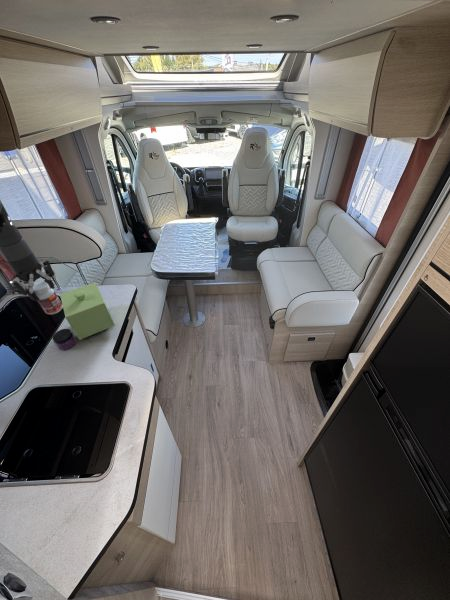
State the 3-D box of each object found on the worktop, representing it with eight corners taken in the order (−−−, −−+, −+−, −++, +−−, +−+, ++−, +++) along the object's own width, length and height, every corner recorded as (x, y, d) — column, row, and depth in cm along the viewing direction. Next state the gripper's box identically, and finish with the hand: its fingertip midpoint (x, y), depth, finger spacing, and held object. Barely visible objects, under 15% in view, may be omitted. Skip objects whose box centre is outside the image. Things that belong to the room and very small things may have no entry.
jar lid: (49, 341, 114) (48, 339, 113) (62, 329, 119) (61, 327, 118) (63, 345, 112) (62, 343, 111) (76, 332, 117) (74, 330, 116)
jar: (54, 348, 117) (48, 340, 113) (67, 335, 122) (62, 327, 119) (68, 352, 115) (62, 344, 111) (80, 338, 120) (75, 331, 117)
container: (74, 319, 131) (56, 289, 117) (107, 307, 137) (93, 277, 124) (81, 343, 118) (62, 312, 105) (116, 328, 125) (102, 298, 112)
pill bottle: (61, 313, 95) (46, 289, 87) (43, 316, 94) (26, 292, 86) (65, 302, 99) (51, 279, 92) (47, 305, 98) (32, 282, 91)
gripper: (28, 241, 86) (52, 280, 97) (-13, 264, 76) (19, 305, 87) (45, 244, 84) (67, 284, 95) (5, 268, 74) (35, 309, 85)
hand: (44, 293), depth 91 cm, fingers closed on pill bottle, 6 cm apart
